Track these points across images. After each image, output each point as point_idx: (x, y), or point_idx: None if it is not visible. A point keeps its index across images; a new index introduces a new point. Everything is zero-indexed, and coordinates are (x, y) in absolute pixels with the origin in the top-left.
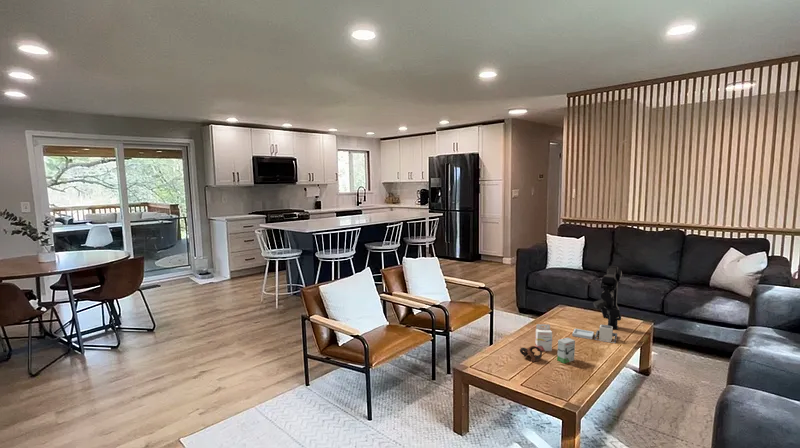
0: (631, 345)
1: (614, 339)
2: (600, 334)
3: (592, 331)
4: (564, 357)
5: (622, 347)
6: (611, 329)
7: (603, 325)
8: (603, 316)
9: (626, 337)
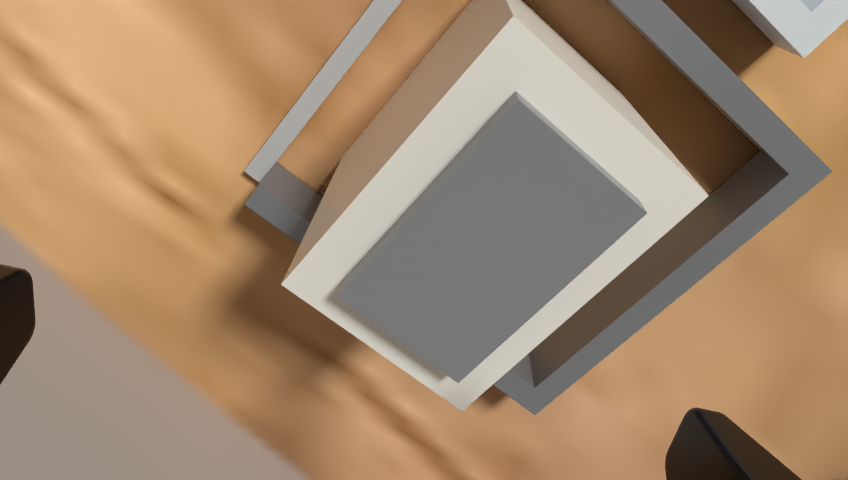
0: (155, 352)
1: (272, 197)
2: (477, 10)
3: (830, 24)
4: None
5: (67, 170)
6: (292, 268)
7: (545, 204)
8: (726, 455)
9: (463, 472)
